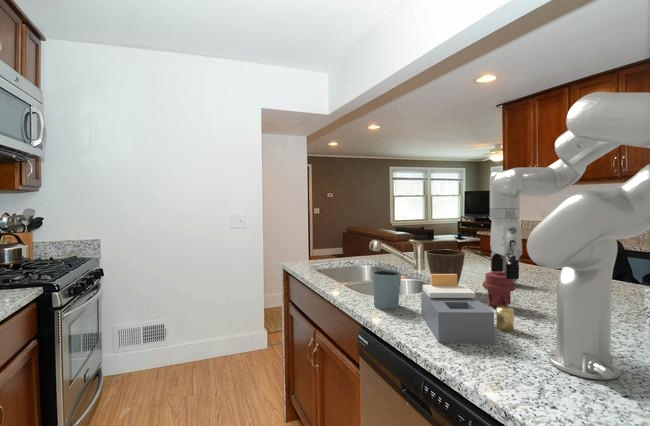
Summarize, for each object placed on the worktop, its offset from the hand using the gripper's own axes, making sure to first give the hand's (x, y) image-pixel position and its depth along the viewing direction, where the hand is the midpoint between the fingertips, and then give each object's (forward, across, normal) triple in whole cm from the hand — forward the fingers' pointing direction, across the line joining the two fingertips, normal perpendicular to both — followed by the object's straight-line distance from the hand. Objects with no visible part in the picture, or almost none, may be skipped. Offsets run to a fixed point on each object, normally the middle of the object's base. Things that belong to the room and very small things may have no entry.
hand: (504, 274), depth 98 cm
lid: (+7, +7, +14) cm, 17 cm away
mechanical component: (+16, +21, -7) cm, 27 cm away
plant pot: (+16, +42, +5) cm, 46 cm away
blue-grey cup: (+16, +22, +31) cm, 41 cm away
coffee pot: (+16, +57, -18) cm, 62 cm away
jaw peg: (+16, 0, 0) cm, 16 cm away
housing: (+16, +1, +14) cm, 21 cm away
